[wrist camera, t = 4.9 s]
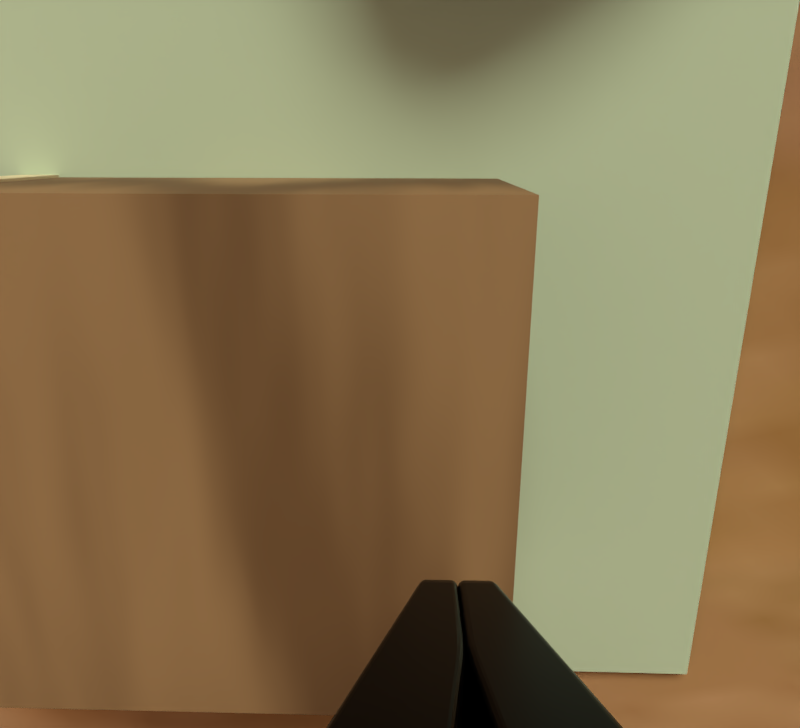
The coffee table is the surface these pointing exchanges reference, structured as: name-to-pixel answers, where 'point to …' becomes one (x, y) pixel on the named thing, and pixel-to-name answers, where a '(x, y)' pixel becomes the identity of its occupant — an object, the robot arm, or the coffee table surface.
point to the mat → (513, 163)
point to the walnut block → (249, 428)
